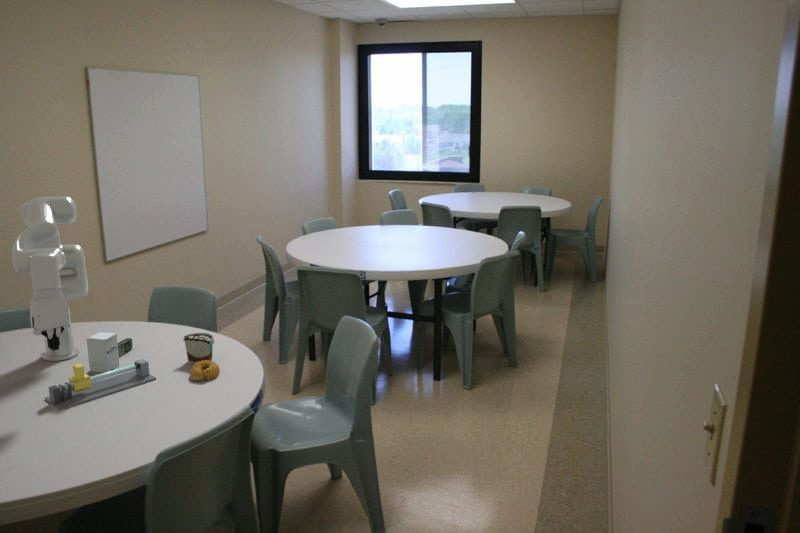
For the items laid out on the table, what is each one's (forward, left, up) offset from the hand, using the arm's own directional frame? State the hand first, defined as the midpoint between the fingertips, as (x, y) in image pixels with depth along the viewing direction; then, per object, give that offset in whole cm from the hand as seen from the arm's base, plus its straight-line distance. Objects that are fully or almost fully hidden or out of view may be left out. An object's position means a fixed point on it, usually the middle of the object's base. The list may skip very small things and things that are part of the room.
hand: (54, 349), depth 200 cm
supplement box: (-17, +23, -18) cm, 34 cm away
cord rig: (0, +13, -18) cm, 22 cm away
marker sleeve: (0, +7, -16) cm, 17 cm away
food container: (+3, +51, -18) cm, 54 cm away
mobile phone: (-27, +34, -19) cm, 47 cm away
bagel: (+16, +43, -19) cm, 49 cm away
